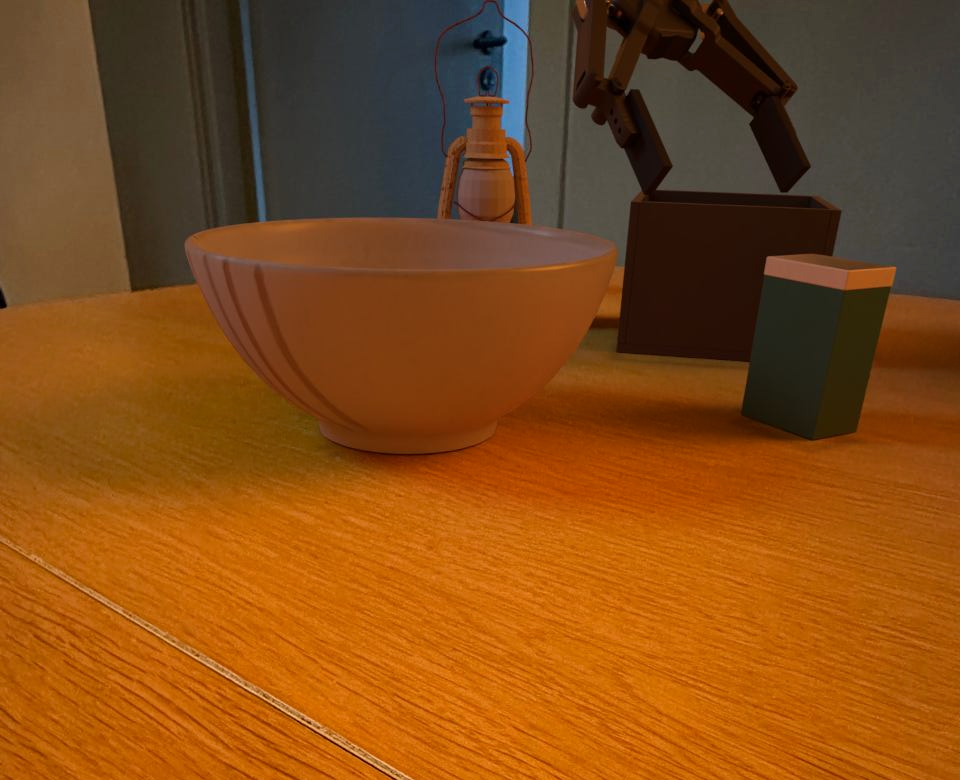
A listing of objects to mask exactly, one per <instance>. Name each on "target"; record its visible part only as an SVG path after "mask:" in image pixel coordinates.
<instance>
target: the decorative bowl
mask: <svg viewBox="0 0 960 780" xmlns="http://www.w3.org/2000/svg"><path fill="white" fill-rule="evenodd" d="M184 250H185V255H186V258H187V261H188V264H189V267H190V269H191V272H192V274H193V277H194V280H195V282H196V285H197V286H198V289H199V290H200V293H201V296H202V297H203V299H204V302H205V303H206V305H207V306H208V310H209V311H210V313H211V314H212V316H213V318H214V319H215V322H216V323H217V324H218V326H219V328H220V329H221V331H222V333H223V334H224V335H225V337H226V338H227V341H229V343H230V344H231V346H232V347H233V349H234V350H235V351H236V352H237V354H238V355H239V356H240V358H241V359H242V360H243V361H244V362H245V364H246V365H247V366H248V367H249V368H250V369H251V370H252V371H253V372H254V374H255V375H257V377H258V378H259V379H261V381H262V382H263V383H265V385H266V386H268V387H269V388H270V389H271V390H272V391H273V392H275V393H276V394H277V395H278V396H280V397H281V398H282V399H284V400H285V401H287V402H288V403H290V404H291V405H292V406H294V407H296V408H297V409H299V410H301V411H302V412H304V413H306V414H308V415H310V416H312V417H314V418H315V419H316V420H317V424H318V428H319V431H320V433H321V435H323V436H324V437H325V438H326V439H329V440H330V441H332V442H334V443H335V444H338V445H341V446H344V447H347V448H351V449H355V450H359V451H366V452H371V453H378V454H389V455H390V454H391V455H424V454H439V453H445V452H451V451H452V452H453V451H458V450H462V449H467V448H470V447H472V446H476V445H478V444H480V443H483V442H484V441H487V440H488V439H489V438H491V437H492V436H493V435H494V434H496V433H495V432H496V430H497V427H498V421H499V419H500V418H501V417H503V416H505V415H508V414H509V413H511V412H513V411H514V410H516V409H517V408H519V407H520V406H522V405H524V404H525V403H527V402H528V401H529V400H531V399H532V398H533V397H534V396H536V395H537V394H538V393H539V392H540V391H541V390H543V389H544V388H545V387H546V386H547V385H548V384H549V383H550V381H551V380H552V379H554V377H555V376H556V375H558V373H559V371H561V369H562V368H563V367H564V366H565V364H566V363H567V362H568V361H569V359H570V358H571V357H572V355H573V354H574V353H575V351H576V350H577V348H578V347H579V345H580V344H581V342H582V341H583V339H584V337H585V336H586V334H587V332H588V330H589V328H590V327H591V325H592V323H593V322H594V320H595V317H596V315H597V313H598V311H599V310H600V308H601V304H602V303H603V301H604V297H605V295H606V293H607V291H608V288H609V284H611V283H610V282H611V280H612V278H613V274H614V272H615V269H616V268H615V267H616V266H617V261H618V257H619V250H618V247H617V246H616V244H615V243H613V242H612V241H610V240H609V239H606V238H603V237H601V236H596V235H594V234H590V233H585V232H580V231H575V230H569V229H564V228H563V229H562V228H557V227H551V226H550V227H549V226H543V225H535V224H534V225H533V224H532V225H524V224H519V223H514V222H510V223H502V222H489V221H474V220H460V219H455V218H451V219H437V218H430V217H429V218H427V217H426V218H424V217H321V218H300V219H297V218H296V219H285V220H284V219H282V220H281V219H280V220H268V221H257V222H248V223H238V224H232V225H225V226H219V227H218V226H217V227H214V228H209V229H205V230H202V231H199V232H196V233H194V234H191V235H190V236H189V237H187V239H185V242H184Z"/></svg>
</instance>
